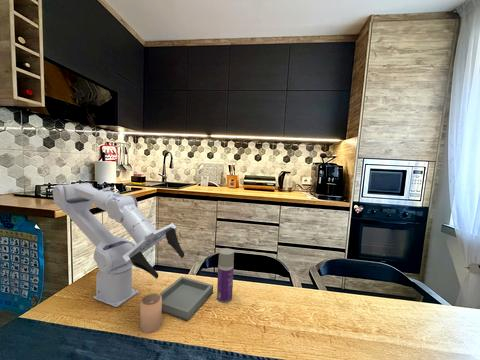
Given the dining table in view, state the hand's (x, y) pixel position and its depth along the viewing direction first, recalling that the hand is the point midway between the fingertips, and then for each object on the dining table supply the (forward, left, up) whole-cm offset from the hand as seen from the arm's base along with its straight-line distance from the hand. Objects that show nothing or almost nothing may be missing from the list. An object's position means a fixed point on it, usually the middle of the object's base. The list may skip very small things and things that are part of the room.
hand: (170, 265), depth 56 cm
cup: (-4, -3, -15) cm, 16 cm away
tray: (-2, +9, -15) cm, 18 cm away
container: (+8, +15, -16) cm, 23 cm away
